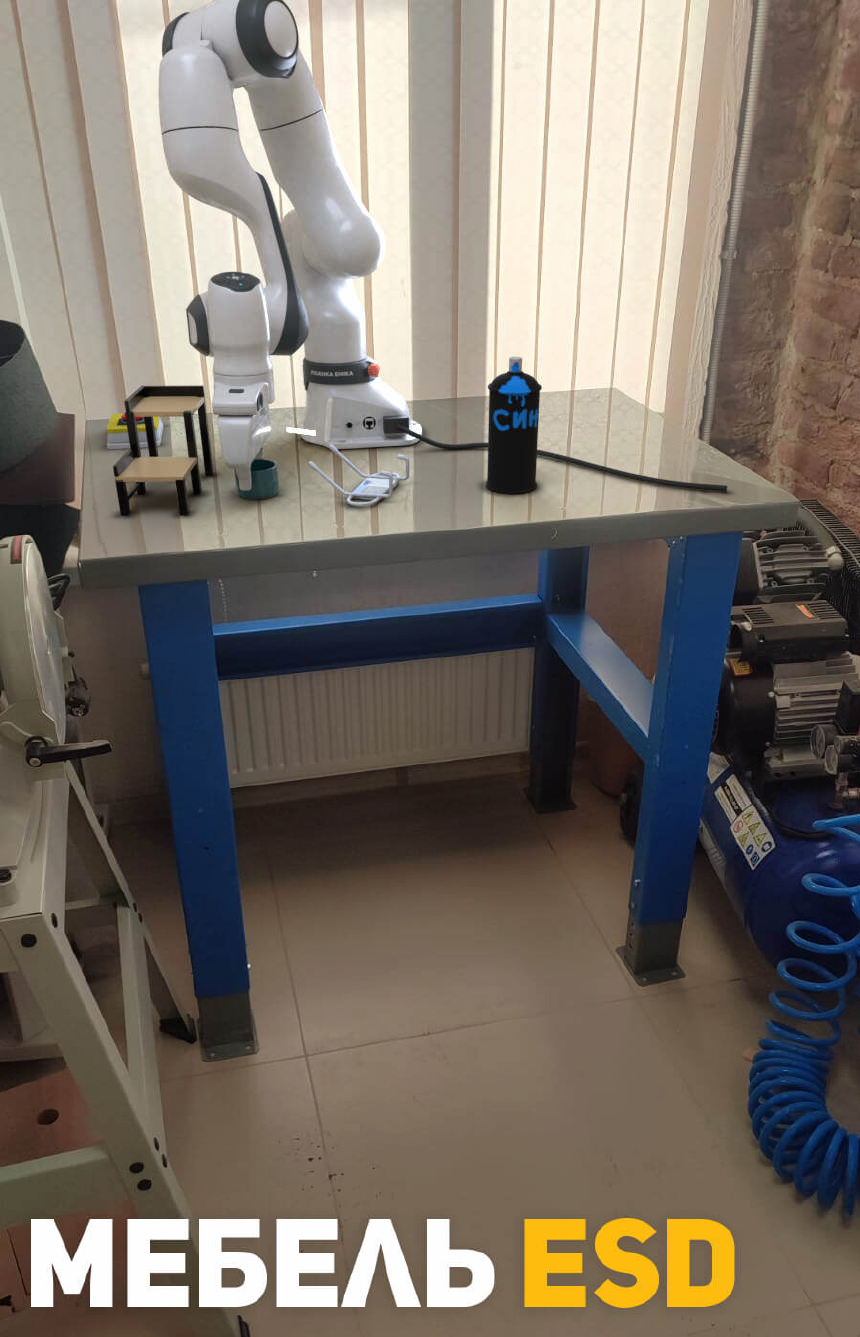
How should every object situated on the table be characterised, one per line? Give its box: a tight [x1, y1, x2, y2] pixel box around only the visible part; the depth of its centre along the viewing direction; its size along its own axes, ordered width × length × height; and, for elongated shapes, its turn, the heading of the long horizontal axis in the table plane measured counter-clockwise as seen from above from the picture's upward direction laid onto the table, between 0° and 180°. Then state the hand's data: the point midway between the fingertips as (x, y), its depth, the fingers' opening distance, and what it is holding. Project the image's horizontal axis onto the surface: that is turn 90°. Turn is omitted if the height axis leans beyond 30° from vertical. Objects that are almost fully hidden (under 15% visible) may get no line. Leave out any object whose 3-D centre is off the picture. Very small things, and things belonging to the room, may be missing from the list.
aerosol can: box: [485, 356, 543, 495], centre depth 155 cm, size 8×8×20 cm
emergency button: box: [106, 413, 164, 450], centre depth 186 cm, size 9×4×15 cm
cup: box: [233, 458, 281, 501], centre depth 156 cm, size 7×7×5 cm
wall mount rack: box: [307, 444, 410, 507], centre depth 157 cm, size 16×14×6 cm
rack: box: [112, 385, 215, 517], centre depth 154 cm, size 10×20×15 cm, turn 0°
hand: (252, 479), depth 156 cm, fingers open, 8 cm apart
